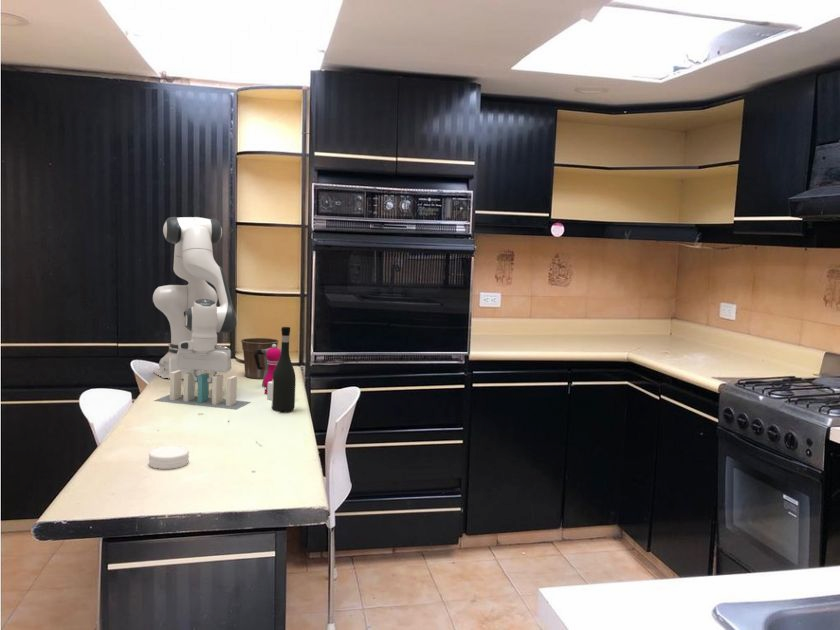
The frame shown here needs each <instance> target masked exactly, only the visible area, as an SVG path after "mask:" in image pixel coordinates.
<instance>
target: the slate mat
mask: <svg viewBox="0 0 840 630" xmlns="http://www.w3.org/2000/svg"><path fill="white" fill-rule="evenodd" d="M183 395H184V394H181V397H180V398H178V399H175V400H170V394H167V395H165V396H162V397H160V398H158V399H157V398H156V399H155V400H154V399H153V402H161V403H168V404H169V403H171V404H179V405H189V406H197V407H206V408H208V407H209V408H216V409H217V408H218V409H225V410H226V409H228V410H235V411H236V410H239V409H241V408H242V407H243V408H244V407H245V406H246V405H248V404H250V403H251V401H244V400H237V399H236V403H235V404H233V405H231V406H226V398H223V402H221V403H218V404H216V405H215V404H212V397H209V398H208V401H205V402H203V403H197V399H198V395H197V396H196V395H195V399H193V400H190V401H188V402H186V401H183Z"/></svg>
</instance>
